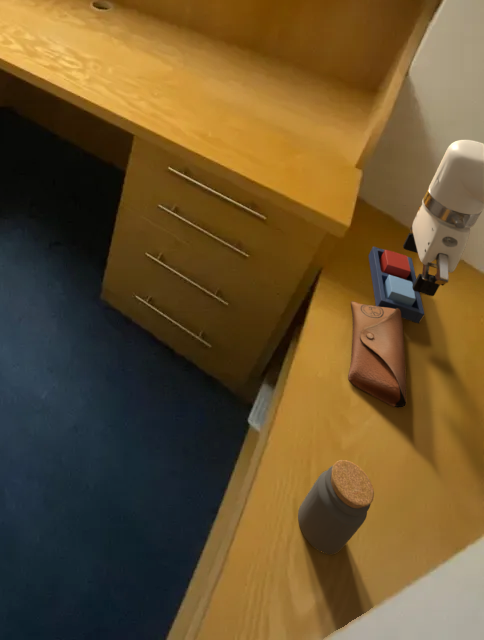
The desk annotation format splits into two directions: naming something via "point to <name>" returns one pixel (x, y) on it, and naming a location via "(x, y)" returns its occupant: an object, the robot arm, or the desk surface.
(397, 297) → the blue block
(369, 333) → the sunglasses case
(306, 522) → the bottle
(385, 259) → the red block
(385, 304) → the tray
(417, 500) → the desk surface
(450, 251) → the robot arm
